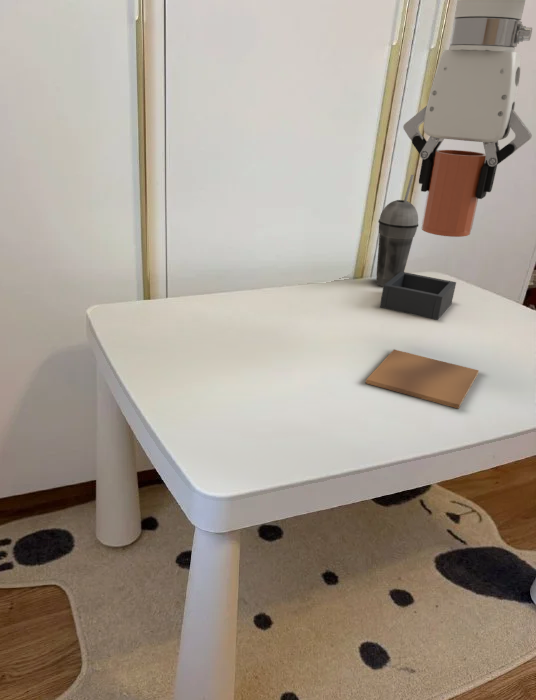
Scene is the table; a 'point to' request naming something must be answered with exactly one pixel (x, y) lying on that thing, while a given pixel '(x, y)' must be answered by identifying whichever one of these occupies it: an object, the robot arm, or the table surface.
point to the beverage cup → (395, 237)
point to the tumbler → (452, 192)
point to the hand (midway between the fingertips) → (453, 192)
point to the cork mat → (424, 378)
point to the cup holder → (418, 295)
